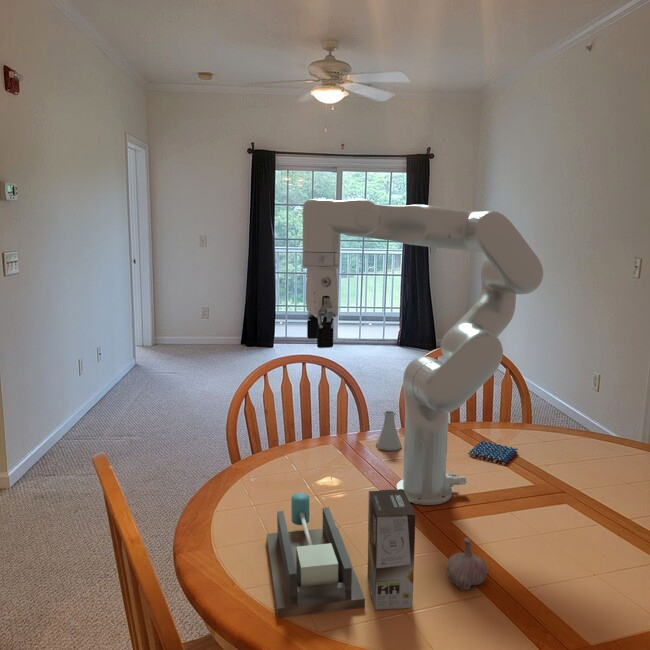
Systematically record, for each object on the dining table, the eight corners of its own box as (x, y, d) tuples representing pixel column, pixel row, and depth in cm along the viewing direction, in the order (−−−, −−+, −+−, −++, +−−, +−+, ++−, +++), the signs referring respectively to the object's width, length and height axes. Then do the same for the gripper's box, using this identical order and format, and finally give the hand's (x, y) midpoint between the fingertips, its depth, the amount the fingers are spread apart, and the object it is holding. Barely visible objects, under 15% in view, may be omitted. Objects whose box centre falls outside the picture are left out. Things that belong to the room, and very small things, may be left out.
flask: (400, 452, 152) (401, 417, 150) (374, 450, 153) (374, 415, 151) (402, 443, 159) (403, 409, 157) (377, 441, 160) (377, 407, 158)
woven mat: (480, 445, 158) (480, 438, 158) (518, 454, 152) (519, 447, 152) (466, 458, 150) (466, 450, 149) (505, 468, 144) (506, 460, 143)
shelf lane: (337, 534, 111) (337, 503, 110) (364, 607, 90) (365, 570, 89) (266, 540, 109) (266, 509, 108) (277, 617, 87) (277, 579, 86)
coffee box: (414, 608, 90) (417, 515, 87) (374, 610, 89) (376, 517, 86) (401, 573, 99) (404, 488, 96) (365, 575, 98) (367, 489, 95)
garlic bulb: (460, 598, 92) (463, 553, 91) (435, 573, 99) (437, 531, 98) (497, 587, 95) (500, 543, 94) (470, 563, 102) (472, 522, 101)
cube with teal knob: (313, 515, 115) (313, 491, 114) (337, 591, 91) (338, 562, 90) (284, 518, 114) (284, 494, 113) (301, 596, 90) (301, 566, 89)
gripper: (350, 263, 108) (348, 350, 111) (328, 258, 124) (327, 334, 127) (311, 263, 106) (310, 352, 109) (294, 258, 122) (294, 335, 125)
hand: (319, 342), depth 118 cm, fingers open, 9 cm apart
